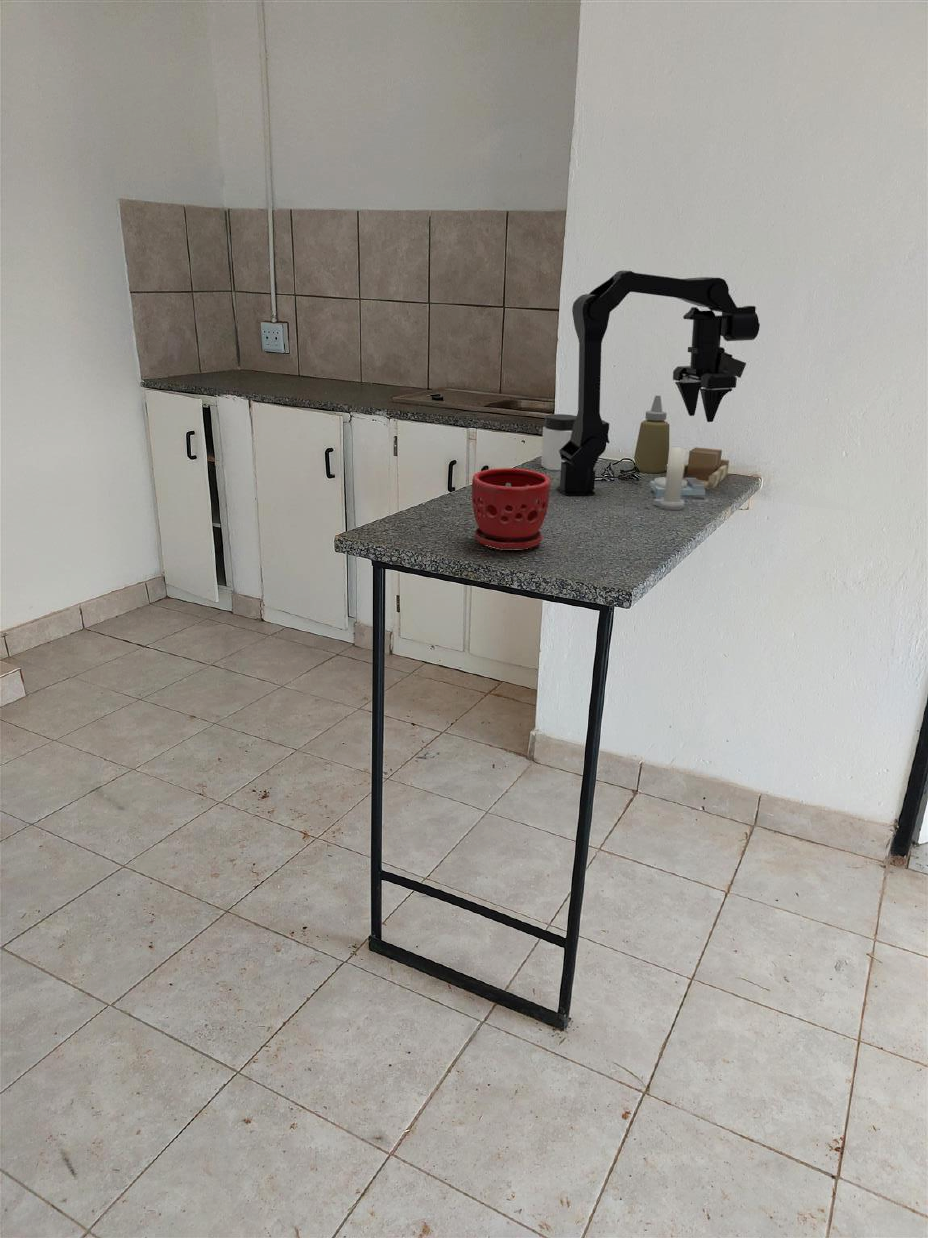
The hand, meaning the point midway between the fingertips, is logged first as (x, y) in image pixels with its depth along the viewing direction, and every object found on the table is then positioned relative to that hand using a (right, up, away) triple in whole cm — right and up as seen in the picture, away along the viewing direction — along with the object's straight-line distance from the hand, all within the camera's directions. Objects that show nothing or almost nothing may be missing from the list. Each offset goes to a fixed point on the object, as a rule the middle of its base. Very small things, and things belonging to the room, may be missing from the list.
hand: (700, 418), depth 191 cm
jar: (-27, -6, +25) cm, 37 cm away
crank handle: (-8, -20, -9) cm, 24 cm away
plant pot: (-43, -30, -36) cm, 64 cm away
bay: (+3, -12, +11) cm, 17 cm away
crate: (+4, -10, +13) cm, 17 cm away
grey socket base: (-5, -16, +1) cm, 17 cm away
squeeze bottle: (-7, -9, +20) cm, 23 cm away
